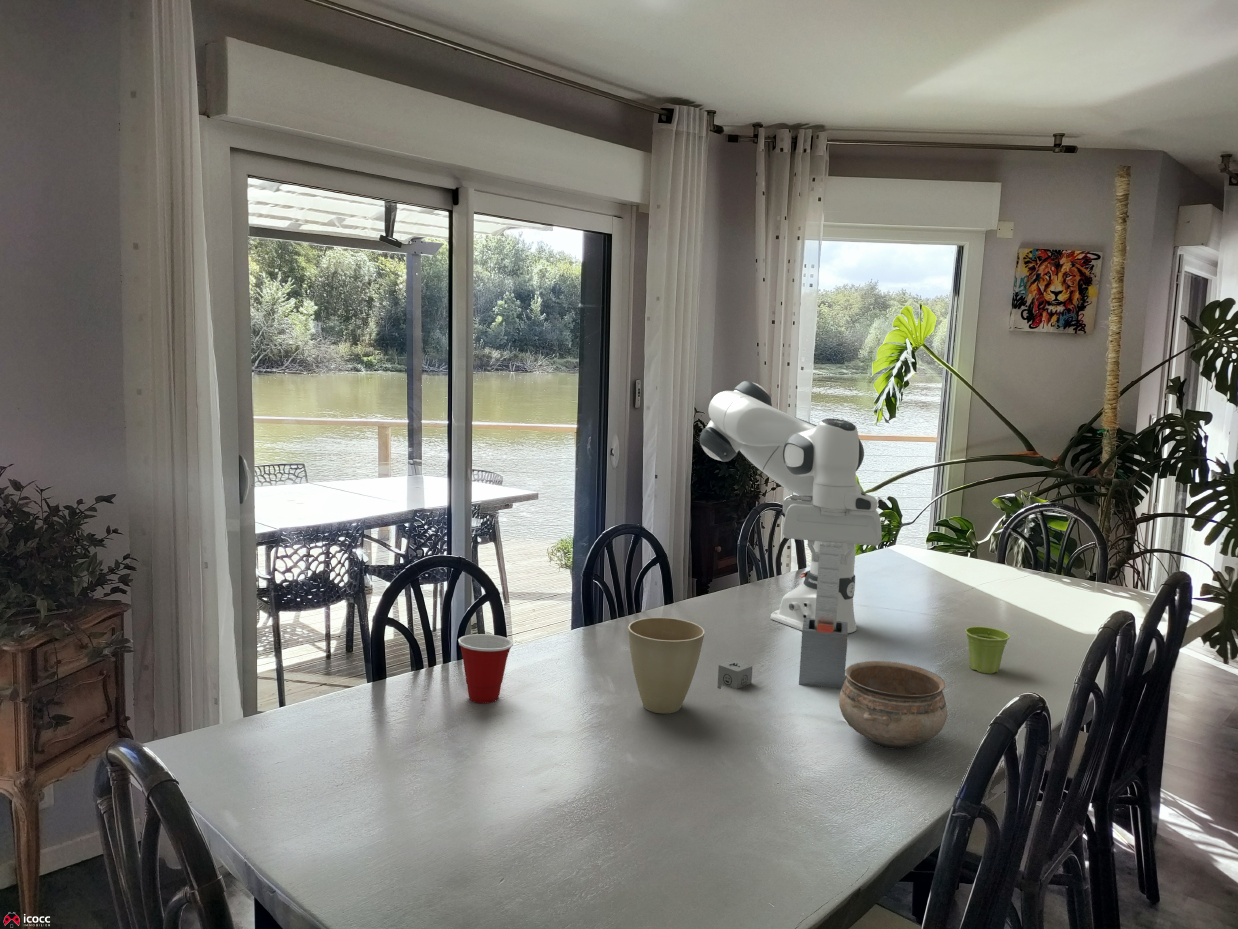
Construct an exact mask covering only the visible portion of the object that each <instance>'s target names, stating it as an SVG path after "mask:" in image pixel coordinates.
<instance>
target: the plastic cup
mask: <svg viewBox="0 0 1238 929" xmlns="http://www.w3.org/2000/svg"><path fill="white" fill-rule="evenodd" d="M457 640H458V645H459V646H460V651H461V656H462V661H463V667H464V668H463V669H464V675H465V684H466V686H467V693H468V694H467V695H468V697H469V701H471V702H474V703H476V704H490V703H494V702H496V701H497V700H498V699H499V696H500V693H501V688H502V683H503V679H504V674H505V670H506V664H507V660H508V657H509V653H510V650H511V648H512V647H513V645H514V642H513V640H512V639H509V638H508V637H505V636H501V635H494V634H487V633H485V634H484V633H482V634H479V633H477V634H476V633H475V634H468V635H463V636H461V637H459V638H458V639H457Z"/></svg>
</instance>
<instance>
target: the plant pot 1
mask: <svg viewBox="0 0 1238 929" xmlns="http://www.w3.org/2000/svg"><path fill="white" fill-rule="evenodd" d="M627 628H628V629H627V630H628V641H629V650H630V658H631V663H632V669H633V674H634V679H635V682H636V685H637V690H638V692H639V697H640V699H641V702H642V706H643V708H644V709H646V710H647V711H649V712H653V713H656V714H665V715H666V714H673V713H676V712H678V711H680V709H681V708H682V706H683V703H684V701H685V699H686V697H687V695H688V692H689V690H690V686H691V684H692V681H693V679H694V676H695V672H696V669H697V666H698V662H699V659H700V655H701V652H702V646H703V642H704V637H705V629H704V628H703V627H702V626H701V625H699V624H697V623H695V622H692V621H688V620H685V619H680V618H673V617H663V616H662V617H646V618H640V619H637V620H635V621H632V622H630V623H629V625H628V626H627Z"/></svg>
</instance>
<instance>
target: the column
mask: <svg viewBox="0 0 1238 929" xmlns="http://www.w3.org/2000/svg"><path fill="white" fill-rule="evenodd" d="M841 545H842V544H837V543H825V542H820V549H819V565H818V580H817V595H816V611H815V626H814V630H817V624H818V623H820V624H829V625H833V632H836V621H837V606H838V591H839V577H840V562H841Z"/></svg>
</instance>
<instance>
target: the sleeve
mask: <svg viewBox="0 0 1238 929" xmlns="http://www.w3.org/2000/svg"><path fill="white" fill-rule="evenodd" d="M814 626H815V619H812V618H804V622H803V628H802V630H801V642H800V643H801V644H800V660H799V675H798V676H799V677H798V685H800V686H808V687H816V688H825V689H834V690H840V691H841V689H842V687H843V684H844V682H845V680H846V678H845V677H846V674H845V670H846V664H847V663H846V662H847V651H848V650H847V649H848V637H849V635H848V634H849V633H848V622H841V621H836V632H833V625H829V624H820V623H818V624H817V630H814Z"/></svg>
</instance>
